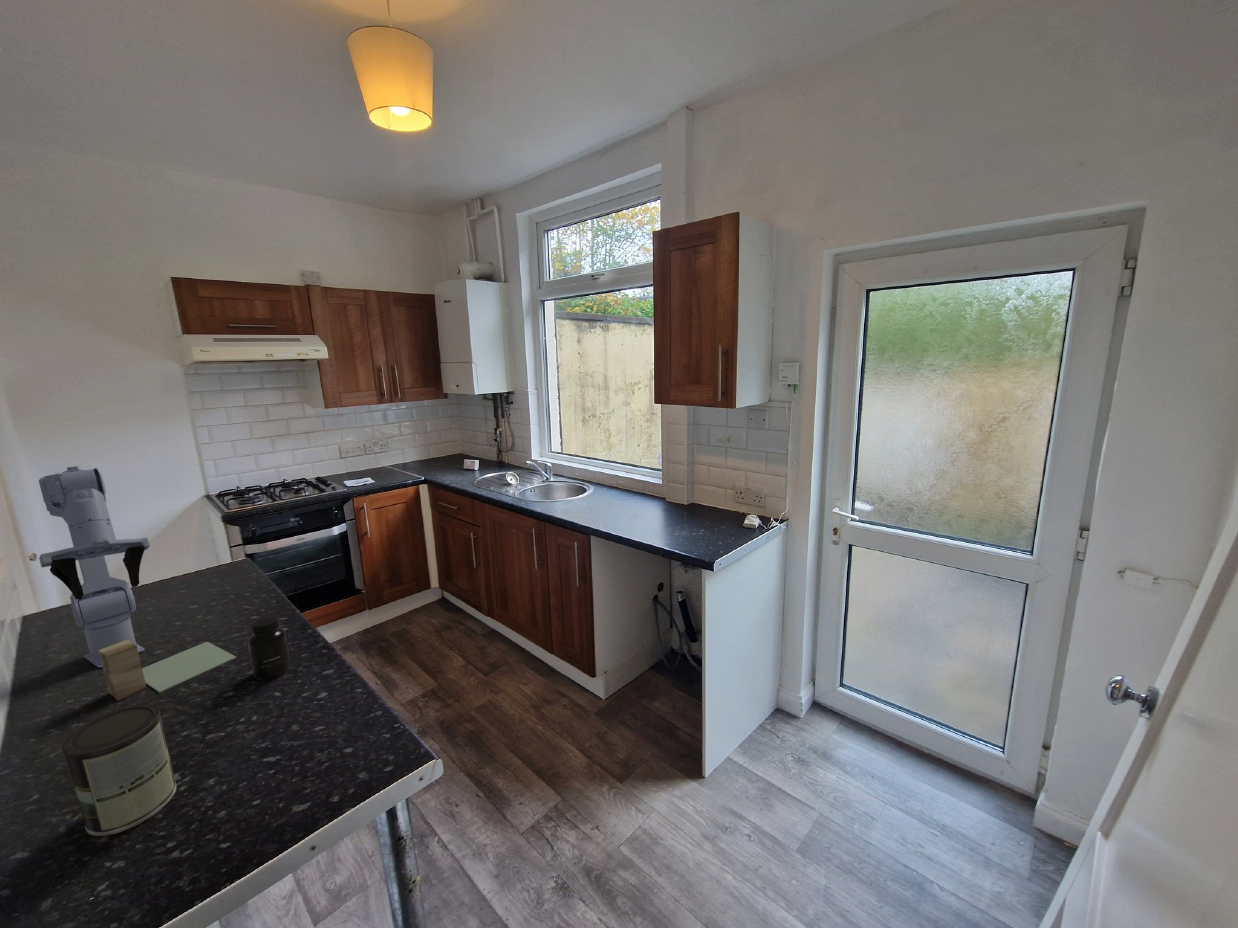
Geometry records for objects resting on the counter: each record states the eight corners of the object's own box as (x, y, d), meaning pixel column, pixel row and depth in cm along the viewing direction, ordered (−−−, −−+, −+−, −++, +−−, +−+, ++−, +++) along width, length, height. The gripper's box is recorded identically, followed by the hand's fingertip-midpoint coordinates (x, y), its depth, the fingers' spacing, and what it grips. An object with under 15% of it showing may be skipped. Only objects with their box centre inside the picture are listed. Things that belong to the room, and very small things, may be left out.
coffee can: (63, 840, 71) (38, 755, 68) (126, 781, 81) (107, 705, 78) (140, 833, 72) (119, 750, 69) (193, 775, 82) (177, 700, 79)
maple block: (109, 693, 103) (98, 650, 101) (137, 681, 107) (127, 639, 105) (117, 700, 101) (107, 656, 99) (146, 687, 105) (136, 645, 103)
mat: (132, 673, 110) (131, 672, 110) (207, 642, 122) (207, 641, 122) (159, 692, 103) (159, 691, 103) (236, 657, 115) (236, 656, 115)
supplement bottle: (272, 682, 106) (263, 631, 104) (245, 678, 107) (236, 628, 105) (298, 663, 113) (290, 615, 110) (273, 660, 114) (264, 612, 112)
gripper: (38, 524, 89) (56, 595, 86) (145, 511, 101) (164, 572, 99) (31, 540, 92) (48, 608, 89) (136, 526, 104) (153, 585, 102)
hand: (108, 591), depth 94 cm, fingers open, 7 cm apart
